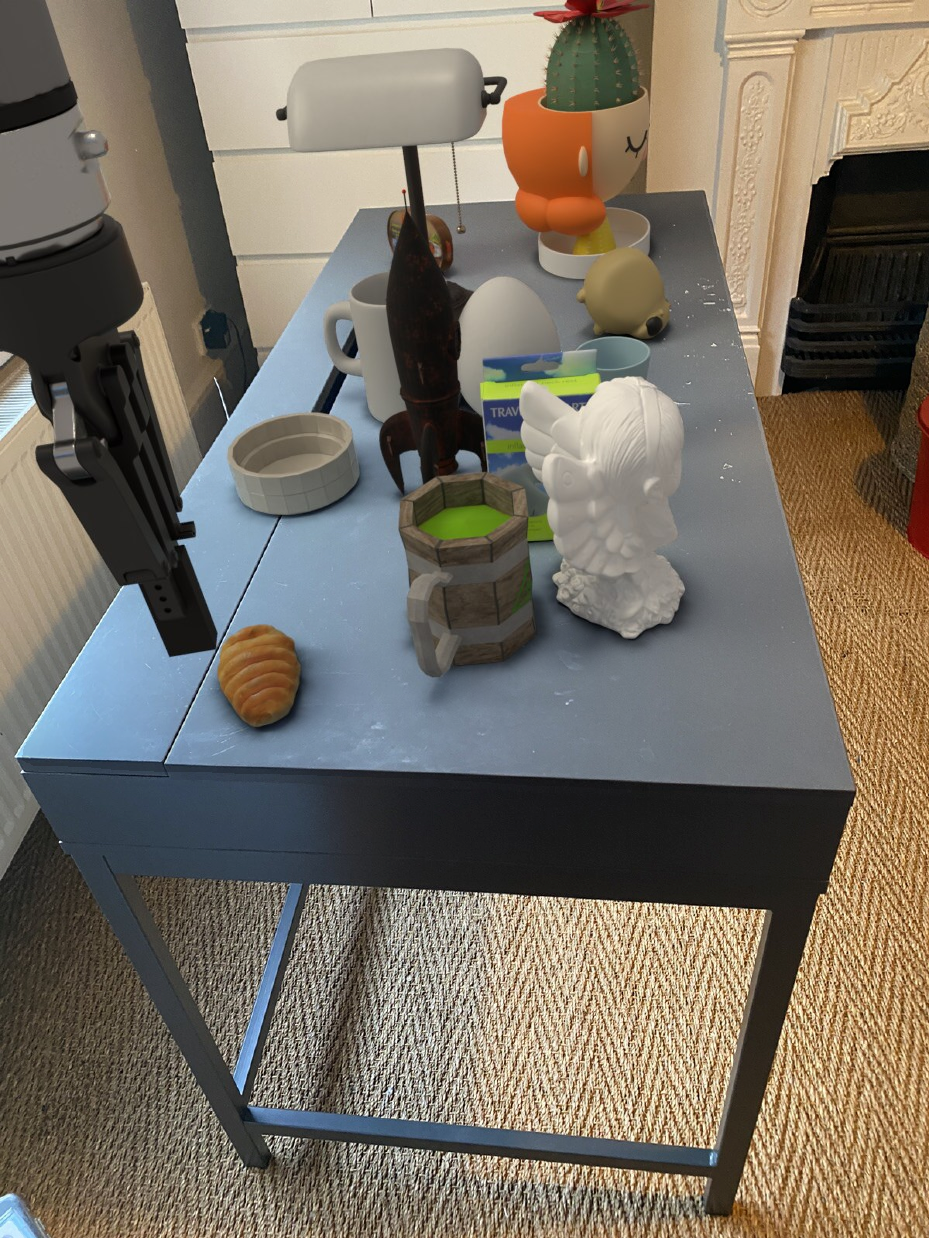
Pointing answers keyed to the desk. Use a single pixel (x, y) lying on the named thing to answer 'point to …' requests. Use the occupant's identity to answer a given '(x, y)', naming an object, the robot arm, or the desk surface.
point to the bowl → (294, 463)
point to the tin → (436, 233)
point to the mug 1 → (368, 344)
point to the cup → (619, 357)
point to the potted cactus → (580, 140)
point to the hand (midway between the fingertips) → (193, 644)
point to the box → (505, 420)
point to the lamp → (392, 112)
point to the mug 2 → (467, 570)
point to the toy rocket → (425, 365)
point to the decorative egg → (502, 331)
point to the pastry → (259, 673)
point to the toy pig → (625, 294)
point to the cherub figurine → (609, 498)
